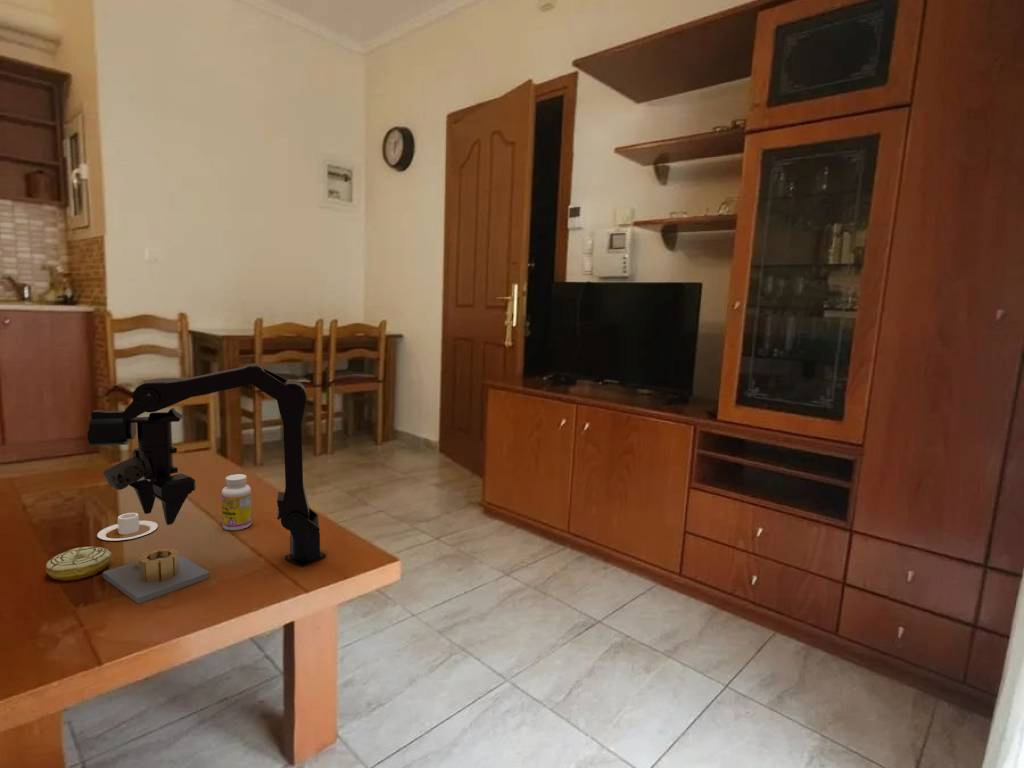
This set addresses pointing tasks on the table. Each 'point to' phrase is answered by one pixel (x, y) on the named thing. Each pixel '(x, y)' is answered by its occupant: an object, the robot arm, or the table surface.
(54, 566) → the decorated donut
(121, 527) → the candle holder
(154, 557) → the octagonal wooden tube
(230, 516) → the supplement bottle
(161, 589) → the carrier board
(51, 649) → the table surface
